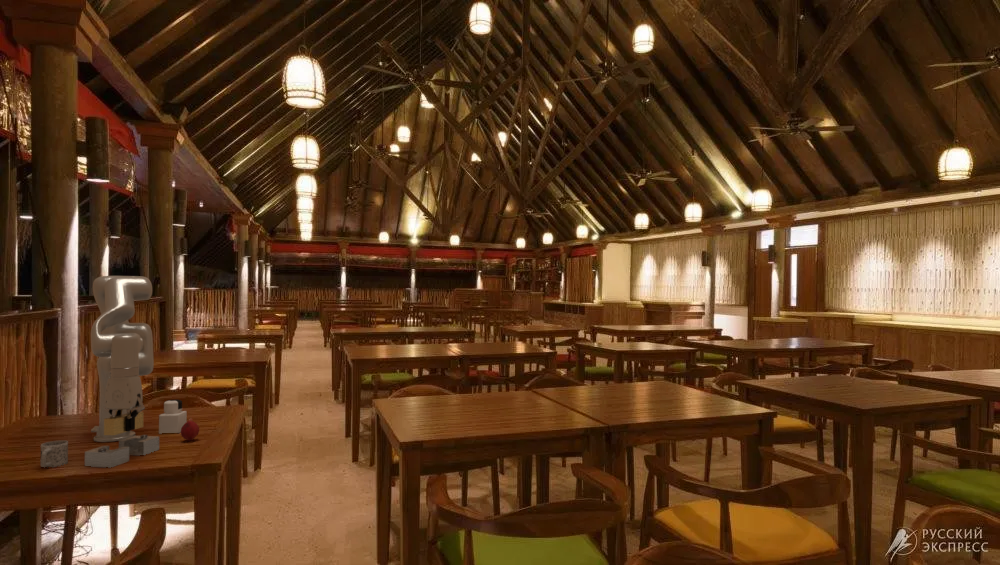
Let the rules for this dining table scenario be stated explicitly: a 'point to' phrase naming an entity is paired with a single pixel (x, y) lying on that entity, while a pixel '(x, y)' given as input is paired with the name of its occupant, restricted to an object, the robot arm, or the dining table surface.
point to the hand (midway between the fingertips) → (124, 429)
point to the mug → (54, 453)
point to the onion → (189, 430)
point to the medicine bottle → (172, 417)
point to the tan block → (120, 424)
